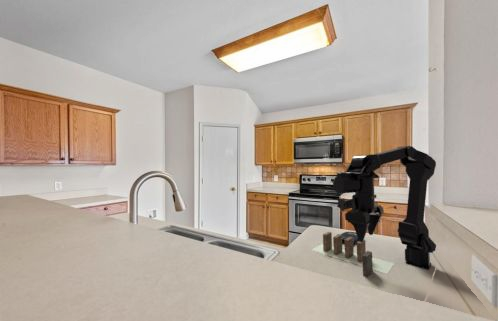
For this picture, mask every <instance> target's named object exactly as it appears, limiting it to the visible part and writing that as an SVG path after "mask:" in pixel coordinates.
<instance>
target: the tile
mask: <svg viewBox="0 0 498 321" xmlns="http://www.w3.org/2000/svg"><path fill="white" fill-rule="evenodd" d="M372 257H373V251H370V250H367V251H366V253H364V254H363V255H362V260H363V266H362V276H363V277H366V278H369V276H370V275H372V273H373V271H374V270H373V265H372Z"/></svg>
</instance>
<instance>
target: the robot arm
mask: <svg viewBox="0 0 498 321" xmlns="http://www.w3.org/2000/svg"><path fill="white" fill-rule="evenodd" d="M351 158H352V159H351V162H350V163H349V165H348V167H347V168H346V170H345V171H344V172H336V176H335V177H334V179H333V181H332V187H333V190H334V191H335V192H336V193H337V194H351V193H353V194H352V196H351V198H349V199H346V198H344V197H343V198H340V199H338V200H337V203H336V204H337V205H336V206H337V208H339V209H340V212H344V211H346V210H347V211H346V212H345V213H344V220H345V221H347V223H350V225H352V226H353V229H354V232H356V234H357V237H358V240H359V241H360V242H363V240H365V238H366V234H367V233H368V235H369V236H374V232H375V231H376V228H377V226H378V225H379V223H380V220H381V218H382V217H383V214H384V207H383V206H382V205H380V204H376V202H375V199H377V194H375V181H374V180H375V179H380V176H379V175H378V174H377V173H376V172H375V171H377V170H379V169H381V167H382V166H383V165H385V164H388V163H392V162H396V161H399V162H400V164H401V165H403V167H405V173H406V175H407V177H408V178H409V185H408V194H407V205H406V206H407V207H406V215H405V218H404V219H403V220H402V221H400V220H399V221H398V228H397V234H398V237H399V240H400V243H401V244H402V245H405V246H406V247H405V249H404V260H405V264H406V265H409V266H413V267H416V268H421V269H424V270H427V271H428V270H430V268H431V265H432V262H431V254H430V253H432V254H433V253H434V252H436V248H437V244H436V243H435V242H434V240H432V239H431V237H430V233H429V229H428V226H427V225H426V223H425V220H424V218H425V208H426V199H427V188H428V187H427V186H428V181H429V180H430V179H431V178H432V177H433V176H434V174H435V170H436V166H437V163H436V162H437V161H436V160H435V159H434V158H433V157H432V156H430V155H429V154H428V153H426V152H424V151H420V150H417V149H416V148H415V147H414V146H411V145H406V146H398V147H397V148H392V149H389V150H386V151H382V152H377V153H374V154H362V155H360V154H358V155H354V156H352V157H351ZM350 209H351V210H350Z"/></svg>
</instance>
